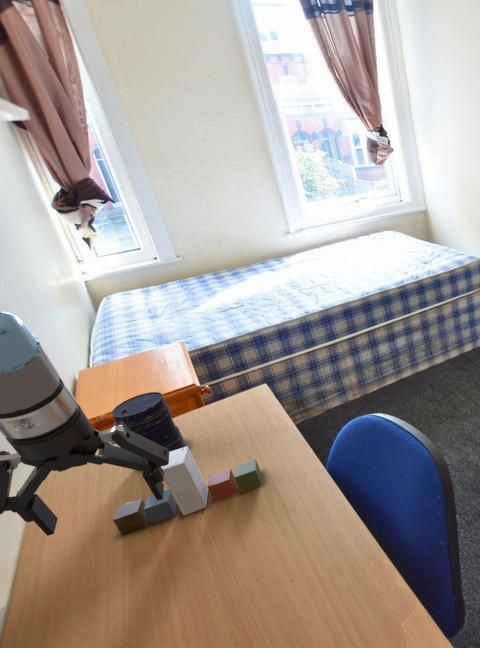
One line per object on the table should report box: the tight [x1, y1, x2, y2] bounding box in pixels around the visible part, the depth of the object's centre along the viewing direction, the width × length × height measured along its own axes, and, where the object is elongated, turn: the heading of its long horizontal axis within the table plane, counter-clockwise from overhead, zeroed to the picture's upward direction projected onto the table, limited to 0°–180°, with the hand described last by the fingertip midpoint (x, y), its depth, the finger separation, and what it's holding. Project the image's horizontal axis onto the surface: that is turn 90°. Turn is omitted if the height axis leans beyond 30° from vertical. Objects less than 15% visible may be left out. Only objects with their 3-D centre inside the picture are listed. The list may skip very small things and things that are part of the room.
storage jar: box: [111, 391, 187, 452], centre depth 110 cm, size 10×10×15 cm
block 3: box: [207, 467, 237, 502], centre depth 99 cm, size 4×4×4 cm
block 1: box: [112, 497, 149, 536], centre depth 93 cm, size 4×4×4 cm
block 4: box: [234, 459, 262, 493], centre depth 101 cm, size 4×4×4 cm
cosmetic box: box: [161, 445, 209, 516], centre depth 95 cm, size 6×4×12 cm
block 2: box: [144, 488, 178, 525], centre depth 95 cm, size 4×4×4 cm
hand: (109, 509), depth 73 cm, fingers open, 13 cm apart
